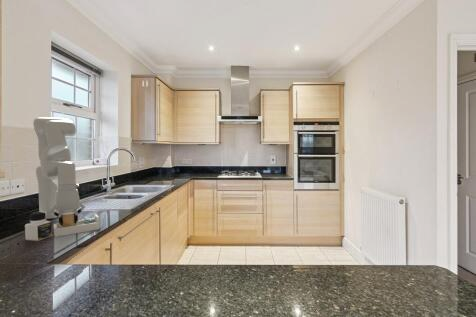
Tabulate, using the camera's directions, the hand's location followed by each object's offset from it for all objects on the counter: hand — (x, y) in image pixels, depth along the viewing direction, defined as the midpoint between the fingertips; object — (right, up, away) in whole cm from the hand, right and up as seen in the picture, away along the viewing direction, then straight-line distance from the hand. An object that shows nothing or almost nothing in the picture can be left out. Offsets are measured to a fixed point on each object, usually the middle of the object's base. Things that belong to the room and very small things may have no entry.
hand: (68, 223), depth 136 cm
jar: (0, -2, 0) cm, 2 cm away
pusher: (+8, -2, +6) cm, 10 cm away
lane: (+3, -4, +2) cm, 5 cm away
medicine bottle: (-8, -5, -9) cm, 13 cm away
